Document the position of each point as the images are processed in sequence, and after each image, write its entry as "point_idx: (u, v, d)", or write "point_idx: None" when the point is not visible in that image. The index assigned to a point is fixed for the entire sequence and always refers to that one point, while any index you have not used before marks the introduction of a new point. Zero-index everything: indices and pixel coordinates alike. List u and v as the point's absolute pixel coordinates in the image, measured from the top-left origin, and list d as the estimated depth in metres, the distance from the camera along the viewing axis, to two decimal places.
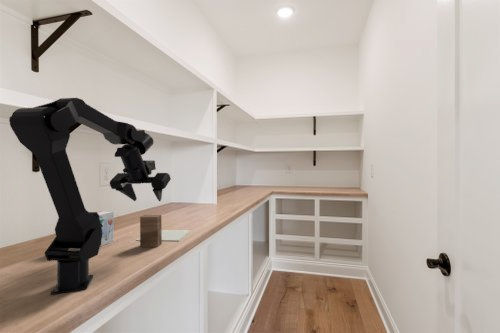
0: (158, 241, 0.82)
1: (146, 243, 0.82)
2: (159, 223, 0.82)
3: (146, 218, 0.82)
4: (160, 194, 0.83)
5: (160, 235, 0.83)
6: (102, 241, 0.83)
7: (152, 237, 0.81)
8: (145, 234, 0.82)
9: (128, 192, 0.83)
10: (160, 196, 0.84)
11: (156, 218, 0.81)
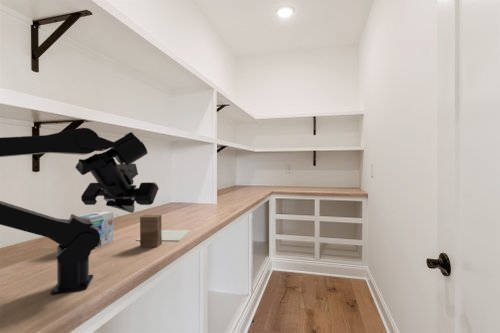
0: (158, 241, 0.82)
1: (146, 243, 0.82)
2: (159, 223, 0.82)
3: (146, 218, 0.82)
4: (132, 206, 0.69)
5: (160, 235, 0.83)
6: (102, 241, 0.83)
7: (152, 237, 0.81)
8: (145, 234, 0.82)
9: None
10: (132, 208, 0.70)
11: (156, 218, 0.81)
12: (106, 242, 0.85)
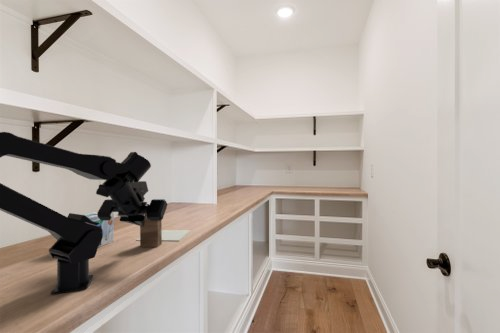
0: (158, 241, 0.82)
1: (146, 243, 0.82)
2: (159, 223, 0.82)
3: (146, 218, 0.82)
4: (143, 220, 0.75)
5: (160, 235, 0.83)
6: (102, 241, 0.83)
7: (152, 237, 0.81)
8: (145, 234, 0.82)
9: None
10: (143, 222, 0.76)
11: None
12: (106, 242, 0.85)
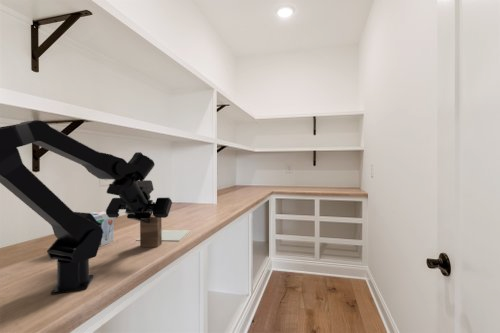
0: (158, 241, 0.82)
1: (146, 243, 0.82)
2: (159, 223, 0.82)
3: None
4: (149, 218, 0.79)
5: (160, 235, 0.83)
6: (102, 241, 0.83)
7: (152, 237, 0.81)
8: (145, 234, 0.82)
9: (140, 218, 0.77)
10: (149, 219, 0.80)
11: (156, 218, 0.81)
12: (106, 242, 0.85)
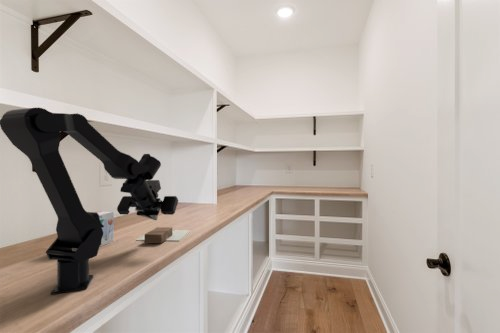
0: (163, 234, 0.86)
1: (151, 233, 0.86)
2: (170, 231, 0.92)
3: (162, 227, 0.94)
4: (156, 215, 0.85)
5: (165, 238, 0.88)
6: (102, 241, 0.83)
7: (160, 231, 0.88)
8: (155, 231, 0.89)
9: (149, 215, 0.83)
10: (156, 216, 0.85)
11: (170, 227, 0.94)
12: (106, 242, 0.85)
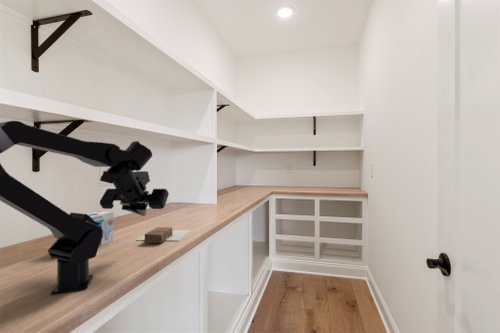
0: (163, 234, 0.86)
1: (151, 233, 0.86)
2: (170, 231, 0.92)
3: (162, 227, 0.94)
4: (144, 210, 0.76)
5: (165, 238, 0.88)
6: (102, 241, 0.83)
7: (160, 231, 0.88)
8: (155, 231, 0.89)
9: (136, 209, 0.75)
10: (144, 211, 0.77)
11: (170, 227, 0.94)
12: (106, 242, 0.85)
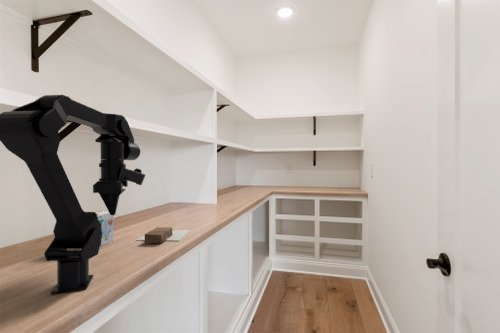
0: (163, 234, 0.86)
1: (151, 233, 0.86)
2: (170, 231, 0.92)
3: (162, 227, 0.94)
4: (110, 205, 0.68)
5: (165, 238, 0.88)
6: (102, 241, 0.83)
7: (160, 231, 0.88)
8: (155, 231, 0.89)
9: None
10: (111, 208, 0.68)
11: (170, 227, 0.94)
12: (106, 242, 0.85)
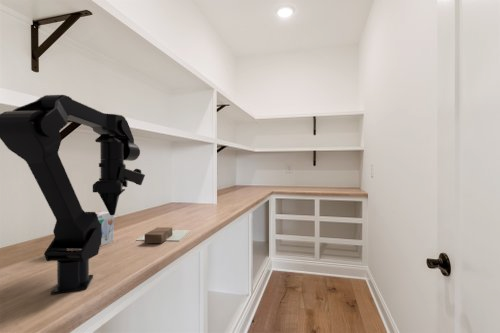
0: (163, 234, 0.86)
1: (151, 233, 0.86)
2: (170, 231, 0.92)
3: (162, 227, 0.94)
4: (110, 205, 0.68)
5: (165, 238, 0.88)
6: (102, 241, 0.83)
7: (160, 231, 0.88)
8: (155, 231, 0.89)
9: None
10: (110, 208, 0.68)
11: (170, 227, 0.94)
12: (106, 242, 0.85)
